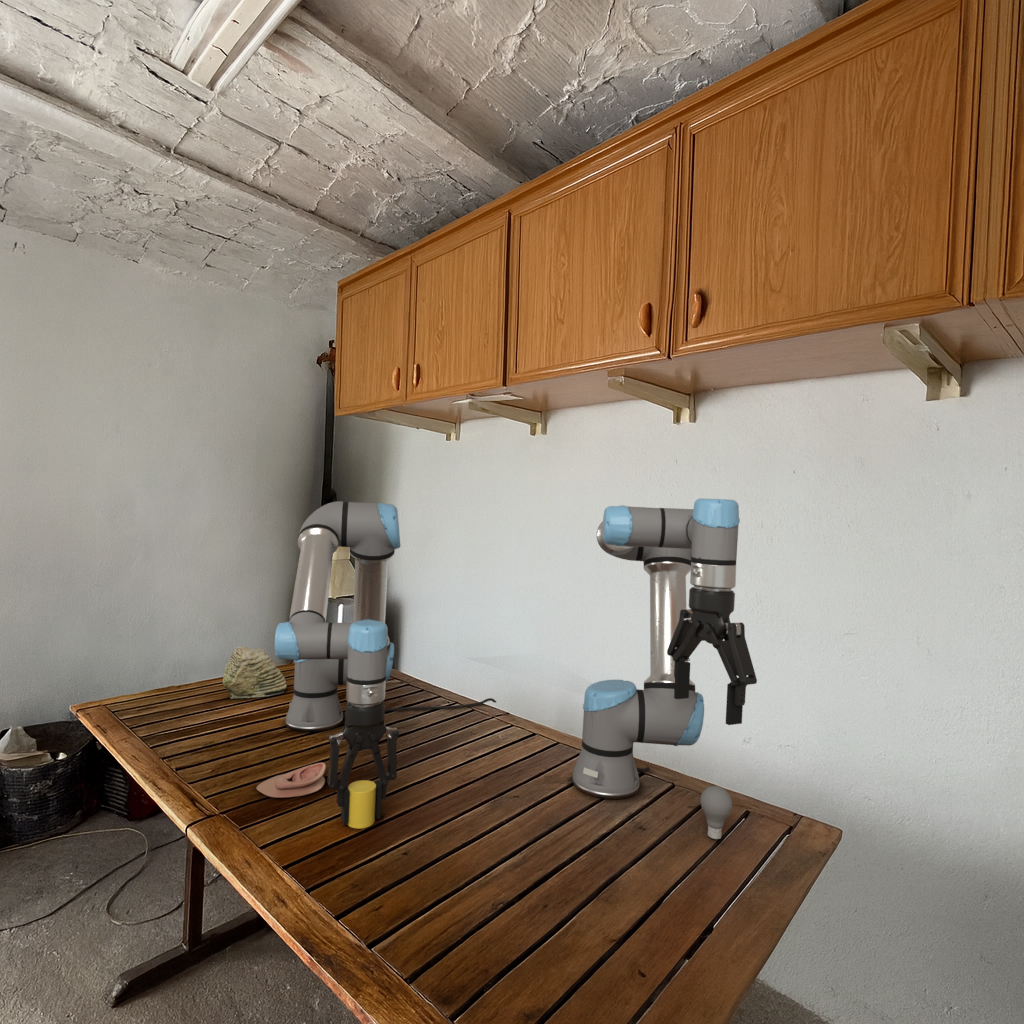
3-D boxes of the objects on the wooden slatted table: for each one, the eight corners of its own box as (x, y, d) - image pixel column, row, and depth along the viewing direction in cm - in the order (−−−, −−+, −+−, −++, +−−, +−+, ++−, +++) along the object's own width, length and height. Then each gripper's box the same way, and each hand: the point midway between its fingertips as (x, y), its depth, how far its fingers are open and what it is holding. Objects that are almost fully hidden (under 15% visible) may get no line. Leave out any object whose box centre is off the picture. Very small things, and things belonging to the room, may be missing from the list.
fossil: (218, 695, 195) (220, 647, 195) (278, 685, 208) (279, 640, 207) (228, 703, 189) (230, 653, 188) (289, 692, 201) (290, 645, 201)
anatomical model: (248, 775, 133) (279, 754, 144) (247, 794, 133) (278, 771, 144) (306, 783, 130) (332, 761, 142) (305, 802, 130) (332, 779, 142)
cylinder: (343, 818, 125) (345, 782, 125) (370, 812, 128) (371, 778, 128) (350, 831, 121) (352, 794, 121) (378, 825, 123) (379, 789, 123)
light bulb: (693, 829, 126) (696, 780, 126) (722, 829, 127) (725, 780, 127) (705, 846, 121) (708, 794, 120) (735, 846, 121) (738, 794, 121)
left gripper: (319, 712, 116) (314, 837, 117) (417, 702, 125) (412, 818, 125) (313, 700, 123) (308, 818, 124) (406, 691, 131) (401, 801, 132)
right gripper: (651, 578, 119) (646, 690, 120) (747, 600, 96) (740, 738, 97) (684, 578, 122) (678, 687, 123) (784, 599, 99) (777, 733, 100)
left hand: (360, 818), depth 124 cm, fingers open, 6 cm apart
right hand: (706, 710), depth 110 cm, fingers open, 13 cm apart
